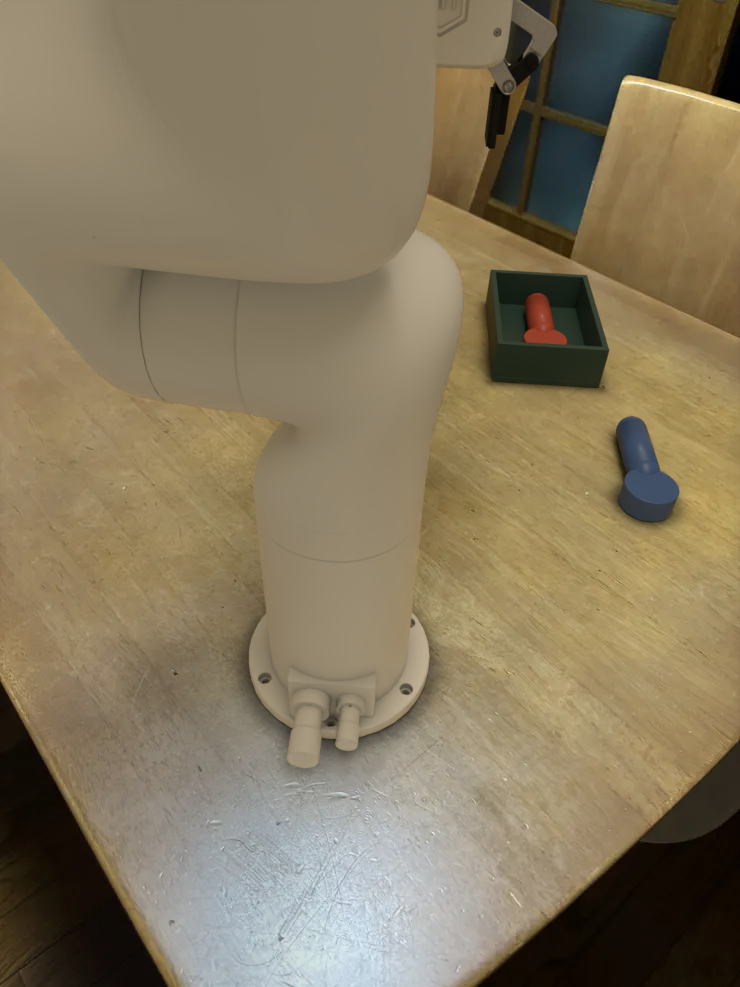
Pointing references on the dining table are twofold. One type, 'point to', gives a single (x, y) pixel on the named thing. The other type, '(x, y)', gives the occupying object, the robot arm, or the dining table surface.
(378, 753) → the dining table surface
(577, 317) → the bin
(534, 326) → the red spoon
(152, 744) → the dining table surface
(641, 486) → the blue elongated piece
